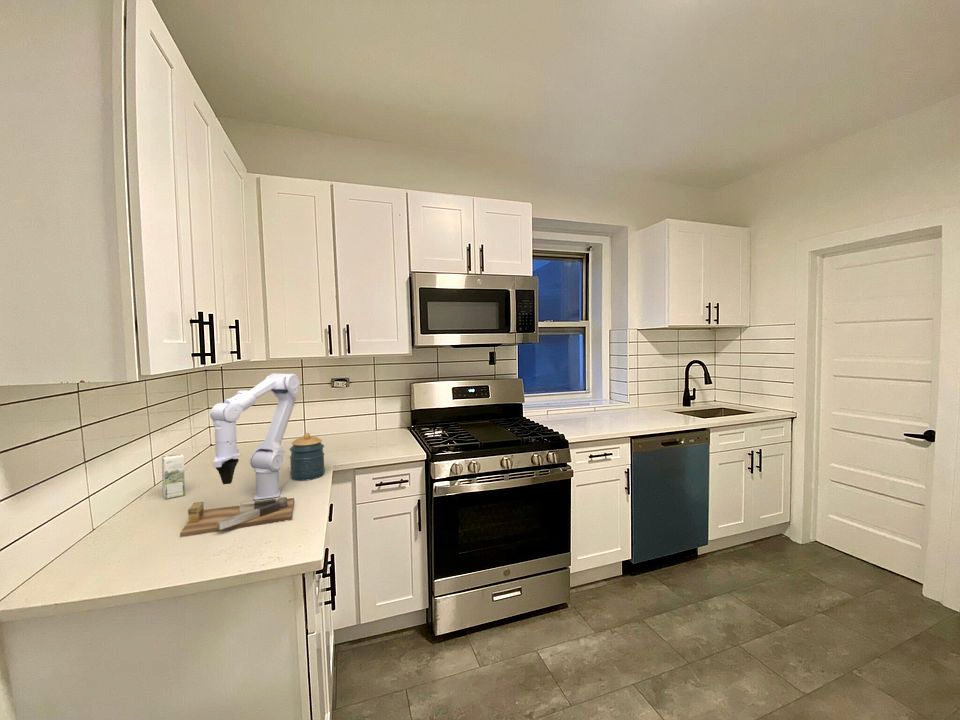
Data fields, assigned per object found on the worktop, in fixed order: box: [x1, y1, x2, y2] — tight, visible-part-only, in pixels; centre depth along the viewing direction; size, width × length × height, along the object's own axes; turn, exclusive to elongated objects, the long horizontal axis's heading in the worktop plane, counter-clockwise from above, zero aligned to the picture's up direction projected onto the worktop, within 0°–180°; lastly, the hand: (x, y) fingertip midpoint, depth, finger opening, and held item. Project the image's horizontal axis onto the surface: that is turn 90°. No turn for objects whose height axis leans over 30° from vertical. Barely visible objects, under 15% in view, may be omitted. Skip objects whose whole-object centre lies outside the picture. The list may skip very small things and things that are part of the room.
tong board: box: [179, 496, 295, 538], centre depth 124 cm, size 16×28×4 cm, turn 112°
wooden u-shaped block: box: [187, 501, 205, 523], centre depth 120 cm, size 6×2×4 cm, turn 22°
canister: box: [289, 432, 326, 481], centre depth 164 cm, size 13×13×18 cm
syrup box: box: [161, 452, 186, 500], centre depth 143 cm, size 6×6×14 cm
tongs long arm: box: [217, 502, 280, 530], centre depth 120 cm, size 2×17×2 cm, turn 144°
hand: (227, 483), depth 127 cm, fingers closed
